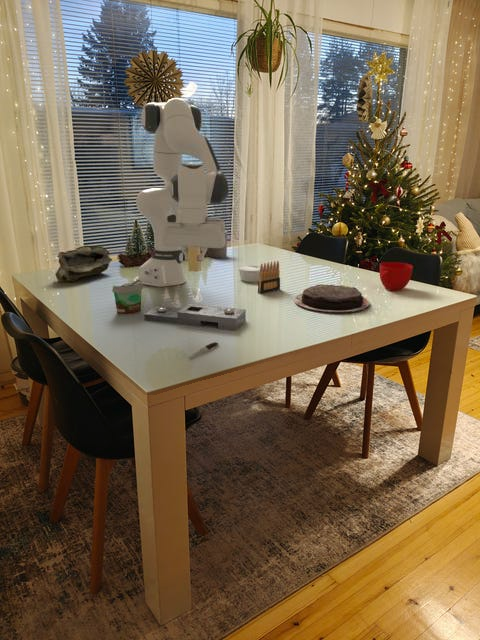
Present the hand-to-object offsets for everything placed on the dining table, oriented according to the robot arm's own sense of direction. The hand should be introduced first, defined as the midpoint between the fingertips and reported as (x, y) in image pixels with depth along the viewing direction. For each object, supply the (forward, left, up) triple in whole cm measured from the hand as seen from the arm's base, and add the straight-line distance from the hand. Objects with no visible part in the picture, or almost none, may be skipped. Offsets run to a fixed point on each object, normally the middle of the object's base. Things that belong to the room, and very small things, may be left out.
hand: (194, 260), depth 159 cm
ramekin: (+2, +60, -20) cm, 63 cm away
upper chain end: (+6, 0, -20) cm, 21 cm away
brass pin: (0, 0, -3) cm, 3 cm away
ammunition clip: (+14, +44, -20) cm, 50 cm away
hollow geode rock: (-68, +39, -20) cm, 81 cm away
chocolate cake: (+40, +36, -21) cm, 57 cm away
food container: (-24, +2, -20) cm, 31 cm away
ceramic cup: (+61, +63, -20) cm, 90 cm away
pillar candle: (-29, +102, -20) cm, 108 cm away
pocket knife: (+13, -25, -21) cm, 35 cm away
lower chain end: (-6, 0, -20) cm, 21 cm away
